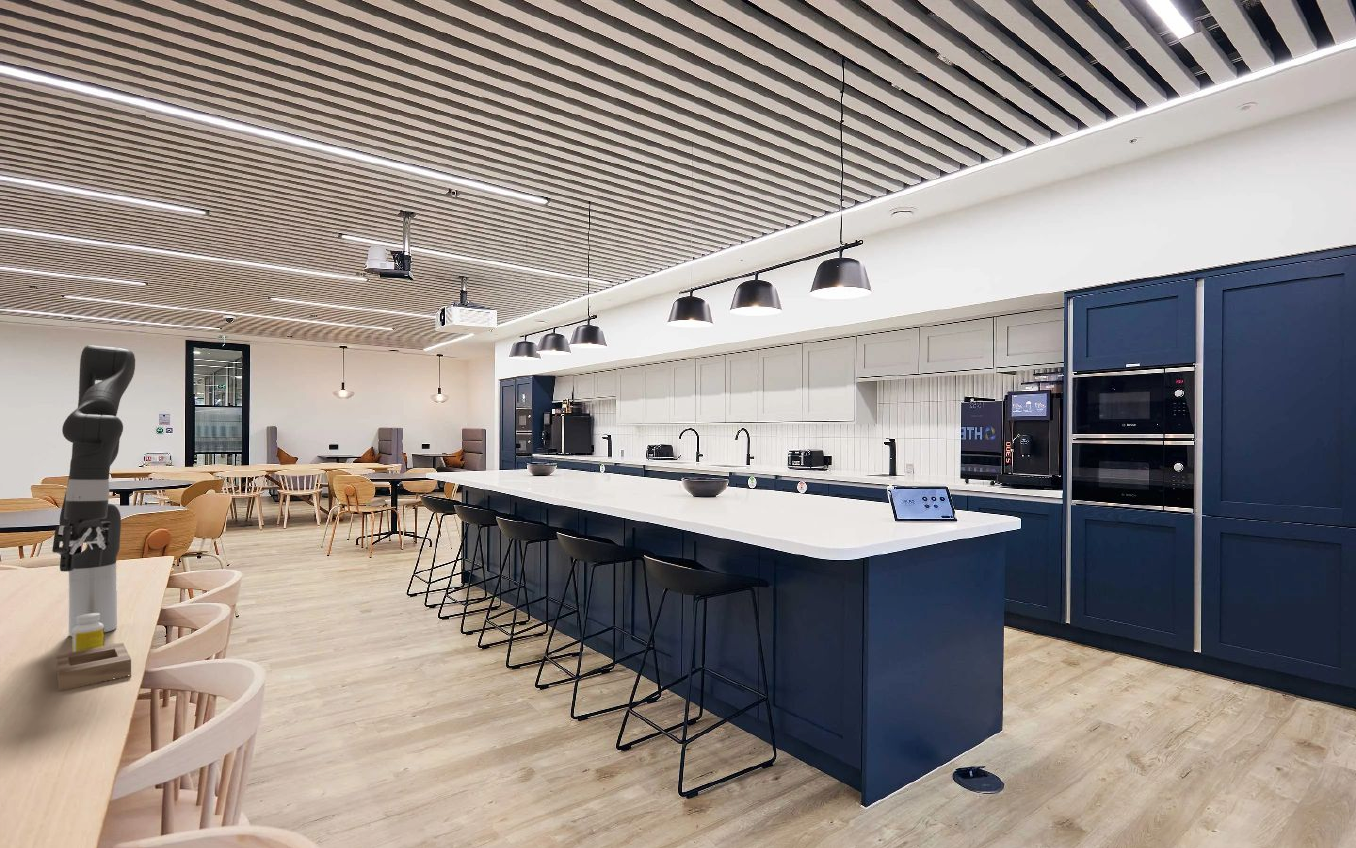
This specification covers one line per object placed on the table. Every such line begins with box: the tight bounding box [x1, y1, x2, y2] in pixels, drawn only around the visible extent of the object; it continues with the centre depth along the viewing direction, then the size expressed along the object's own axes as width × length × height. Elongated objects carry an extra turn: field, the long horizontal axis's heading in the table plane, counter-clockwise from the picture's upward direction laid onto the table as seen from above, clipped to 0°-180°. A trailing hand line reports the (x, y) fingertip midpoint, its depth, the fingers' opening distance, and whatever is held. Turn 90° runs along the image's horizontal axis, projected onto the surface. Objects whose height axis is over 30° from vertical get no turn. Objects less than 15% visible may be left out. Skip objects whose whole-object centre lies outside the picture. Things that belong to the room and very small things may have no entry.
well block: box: [55, 642, 132, 692], centre depth 138 cm, size 16×11×4 cm
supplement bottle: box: [71, 613, 105, 652], centre depth 148 cm, size 5×5×10 cm
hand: (81, 568), depth 152 cm, fingers open, 8 cm apart
